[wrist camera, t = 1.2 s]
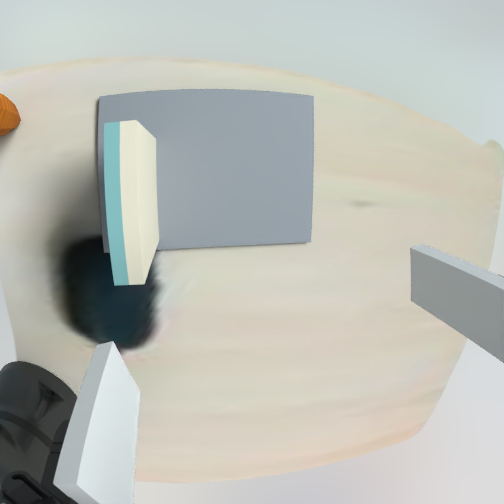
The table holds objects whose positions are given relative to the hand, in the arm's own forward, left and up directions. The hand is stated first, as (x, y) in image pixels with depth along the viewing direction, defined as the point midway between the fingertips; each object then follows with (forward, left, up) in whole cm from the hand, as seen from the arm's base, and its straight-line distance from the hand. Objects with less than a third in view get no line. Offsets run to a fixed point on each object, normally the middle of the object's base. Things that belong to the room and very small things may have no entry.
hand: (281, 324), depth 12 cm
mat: (-1, +6, -21) cm, 22 cm away
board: (-7, +4, -20) cm, 22 cm away
